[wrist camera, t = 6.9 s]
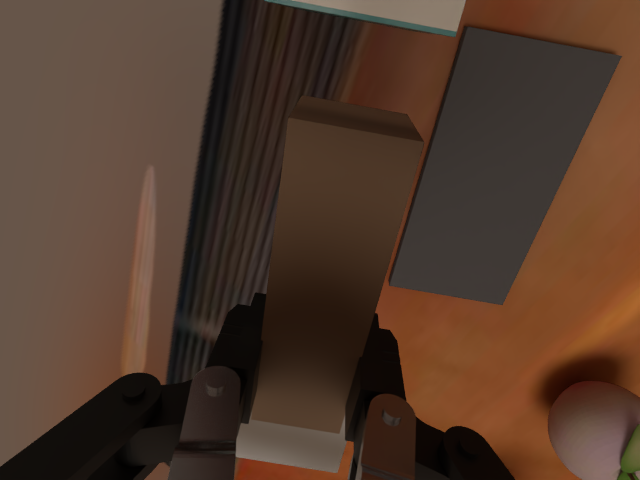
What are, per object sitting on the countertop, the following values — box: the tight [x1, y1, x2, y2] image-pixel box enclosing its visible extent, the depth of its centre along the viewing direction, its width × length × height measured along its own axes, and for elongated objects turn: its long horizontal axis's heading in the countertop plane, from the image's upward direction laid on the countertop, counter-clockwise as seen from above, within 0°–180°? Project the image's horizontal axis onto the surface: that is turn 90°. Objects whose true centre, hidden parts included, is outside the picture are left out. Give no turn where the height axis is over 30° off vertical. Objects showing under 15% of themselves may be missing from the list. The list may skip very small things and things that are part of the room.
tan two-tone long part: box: [236, 95, 424, 473], centre depth 14 cm, size 15×5×3 cm, turn 171°
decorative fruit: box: [548, 381, 640, 480], centre depth 36 cm, size 9×8×10 cm
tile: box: [264, 0, 466, 37], centre depth 21 cm, size 8×2×11 cm, turn 81°
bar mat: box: [389, 27, 622, 305], centre depth 31 cm, size 10×20×1 cm, turn 171°
